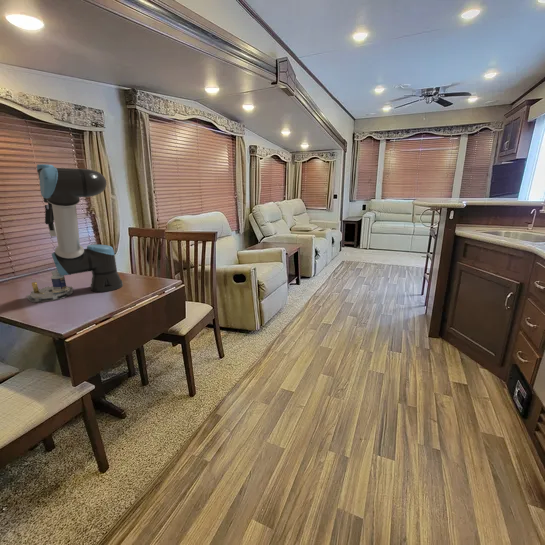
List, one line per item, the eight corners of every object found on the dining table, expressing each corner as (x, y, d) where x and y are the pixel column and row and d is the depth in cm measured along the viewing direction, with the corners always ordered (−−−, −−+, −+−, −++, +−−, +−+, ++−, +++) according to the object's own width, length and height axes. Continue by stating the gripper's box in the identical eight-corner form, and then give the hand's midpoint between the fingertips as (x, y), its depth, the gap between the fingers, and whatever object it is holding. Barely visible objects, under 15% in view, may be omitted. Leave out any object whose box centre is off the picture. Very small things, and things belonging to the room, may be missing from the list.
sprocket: (68, 285, 159) (65, 273, 157) (77, 294, 147) (74, 281, 145) (25, 294, 147) (21, 281, 145) (31, 304, 134) (27, 290, 133)
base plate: (81, 290, 153) (81, 290, 153) (48, 303, 137) (48, 303, 137) (54, 288, 158) (53, 287, 157) (19, 300, 141) (18, 299, 141)
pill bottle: (64, 290, 146) (60, 272, 143) (52, 291, 145) (47, 273, 142) (68, 287, 151) (64, 269, 148) (56, 288, 150) (52, 270, 147)
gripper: (54, 194, 168) (61, 230, 175) (30, 195, 145) (40, 238, 151) (68, 194, 170) (75, 230, 176) (48, 195, 147) (57, 237, 153)
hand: (59, 234), depth 164 cm, fingers open, 13 cm apart
